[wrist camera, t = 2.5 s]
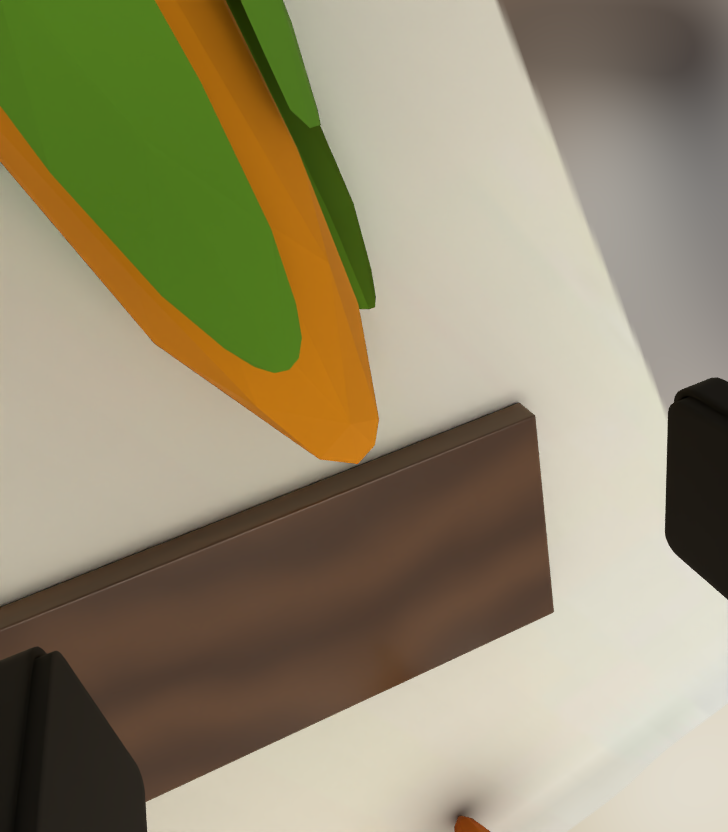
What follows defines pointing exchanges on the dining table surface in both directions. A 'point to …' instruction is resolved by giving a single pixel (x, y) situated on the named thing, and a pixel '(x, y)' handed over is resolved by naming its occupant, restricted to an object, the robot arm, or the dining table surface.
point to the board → (304, 600)
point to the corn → (200, 196)
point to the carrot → (468, 825)
